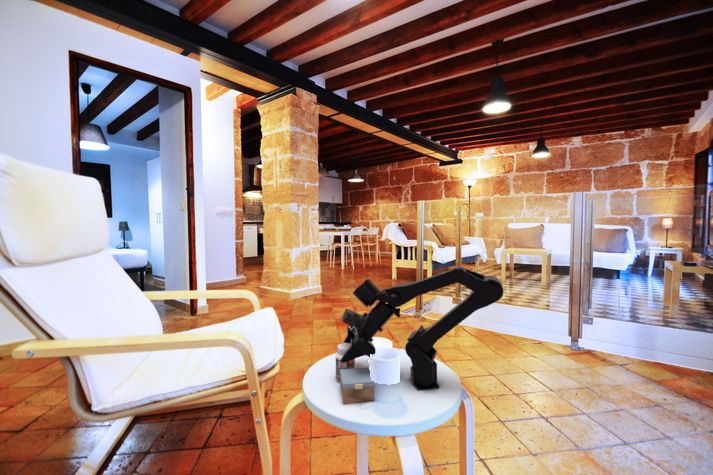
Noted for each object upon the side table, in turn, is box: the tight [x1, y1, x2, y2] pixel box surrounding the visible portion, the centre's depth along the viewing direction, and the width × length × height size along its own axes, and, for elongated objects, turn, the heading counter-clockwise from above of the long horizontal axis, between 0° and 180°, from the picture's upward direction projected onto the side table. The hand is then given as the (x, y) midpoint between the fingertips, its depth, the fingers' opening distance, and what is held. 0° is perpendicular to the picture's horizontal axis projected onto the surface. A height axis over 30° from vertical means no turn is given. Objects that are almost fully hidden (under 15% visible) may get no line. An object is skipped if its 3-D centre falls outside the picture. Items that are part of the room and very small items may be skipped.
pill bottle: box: [335, 342, 356, 383], centre depth 89 cm, size 6×6×10 cm
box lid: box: [340, 366, 375, 389], centre depth 81 cm, size 8×8×1 cm
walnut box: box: [339, 377, 375, 405], centre depth 81 cm, size 8×8×4 cm
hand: (340, 357), depth 89 cm, fingers closed on pill bottle, 6 cm apart
